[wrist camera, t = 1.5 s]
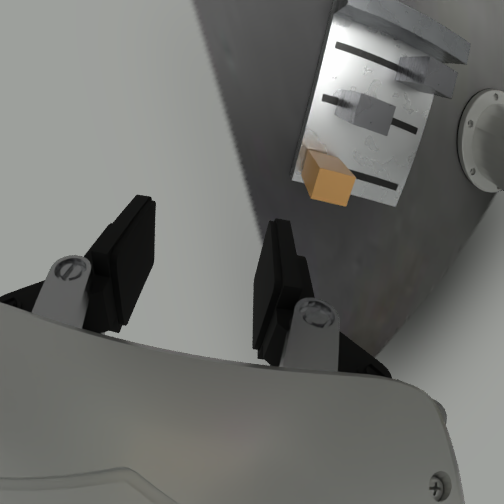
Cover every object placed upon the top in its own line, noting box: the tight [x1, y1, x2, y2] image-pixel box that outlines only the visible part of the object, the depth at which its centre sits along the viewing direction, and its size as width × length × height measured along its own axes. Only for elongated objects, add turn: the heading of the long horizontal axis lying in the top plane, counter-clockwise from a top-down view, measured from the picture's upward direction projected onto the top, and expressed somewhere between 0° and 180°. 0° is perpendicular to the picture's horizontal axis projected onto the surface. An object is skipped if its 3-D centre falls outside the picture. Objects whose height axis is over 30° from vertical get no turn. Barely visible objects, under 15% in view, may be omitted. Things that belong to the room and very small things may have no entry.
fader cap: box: [301, 150, 356, 207], centre depth 22 cm, size 3×2×5 cm
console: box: [290, 0, 470, 207], centre depth 20 cm, size 11×18×7 cm, turn 169°
